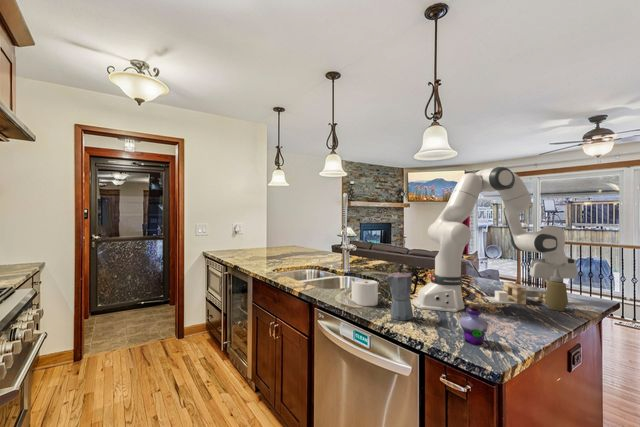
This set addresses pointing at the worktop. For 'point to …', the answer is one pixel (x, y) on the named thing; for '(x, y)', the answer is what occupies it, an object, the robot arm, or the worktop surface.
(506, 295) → the block
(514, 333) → the worktop surface
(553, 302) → the squeeze bottle
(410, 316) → the moka pot
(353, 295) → the toilet tissue
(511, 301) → the mat
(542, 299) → the rear saddle
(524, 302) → the bearing block
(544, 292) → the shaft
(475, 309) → the potion bottle
